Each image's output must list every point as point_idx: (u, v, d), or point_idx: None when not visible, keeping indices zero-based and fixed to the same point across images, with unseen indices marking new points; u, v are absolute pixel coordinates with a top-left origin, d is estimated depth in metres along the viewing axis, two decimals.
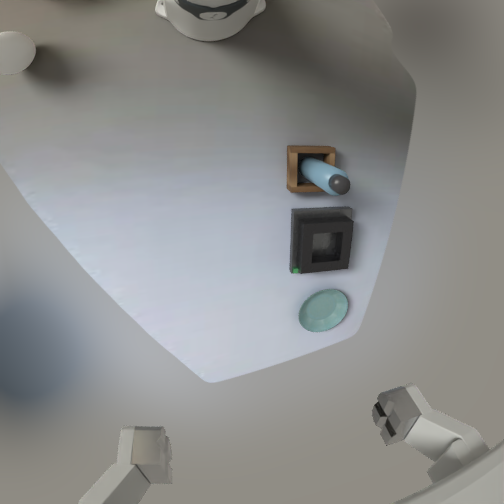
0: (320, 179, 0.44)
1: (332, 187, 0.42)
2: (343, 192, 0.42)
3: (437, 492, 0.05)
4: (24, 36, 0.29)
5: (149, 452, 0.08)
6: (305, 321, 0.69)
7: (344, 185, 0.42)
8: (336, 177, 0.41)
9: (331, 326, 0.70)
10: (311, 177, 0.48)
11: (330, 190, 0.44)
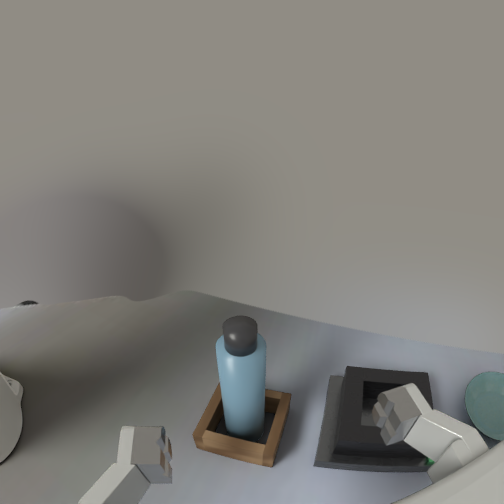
0: (232, 373, 0.23)
1: (240, 343, 0.22)
2: (252, 326, 0.23)
3: (437, 492, 0.05)
4: None
5: (149, 452, 0.08)
6: None
7: (241, 323, 0.23)
8: (223, 334, 0.23)
9: None
10: (240, 405, 0.24)
11: (252, 355, 0.23)
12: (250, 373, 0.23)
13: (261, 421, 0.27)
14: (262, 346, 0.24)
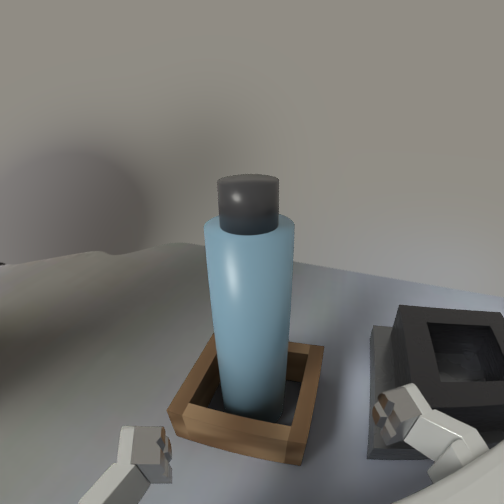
0: (233, 271, 0.13)
1: (248, 201, 0.12)
2: (271, 180, 0.13)
3: (437, 492, 0.05)
4: None
5: (149, 452, 0.08)
6: None
7: (249, 178, 0.13)
8: (218, 194, 0.13)
9: None
10: (248, 349, 0.14)
11: (270, 233, 0.13)
12: (267, 270, 0.13)
13: (281, 387, 0.17)
14: (287, 225, 0.14)
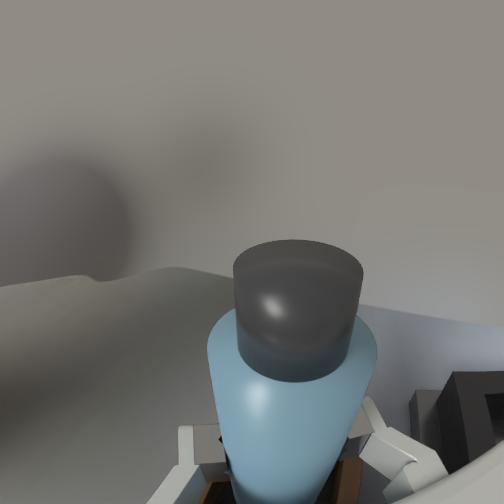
0: (266, 439, 0.06)
1: (307, 329, 0.05)
2: (345, 265, 0.06)
3: (437, 491, 0.05)
4: None
5: (213, 450, 0.08)
6: None
7: (300, 257, 0.06)
8: (236, 299, 0.06)
9: None
10: (280, 497, 0.08)
11: (341, 375, 0.06)
12: (329, 433, 0.06)
13: (314, 502, 0.10)
14: (363, 340, 0.07)
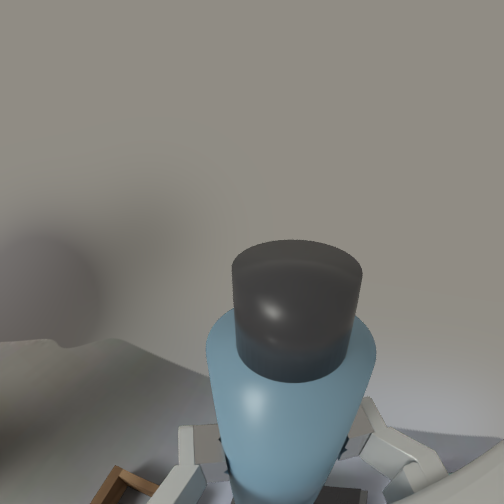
0: (265, 439, 0.06)
1: (306, 330, 0.05)
2: (344, 265, 0.06)
3: (437, 491, 0.05)
4: None
5: (212, 450, 0.08)
6: None
7: (298, 257, 0.06)
8: (235, 299, 0.06)
9: None
10: (279, 497, 0.08)
11: (340, 375, 0.06)
12: (328, 434, 0.06)
13: (313, 502, 0.10)
14: (362, 340, 0.07)
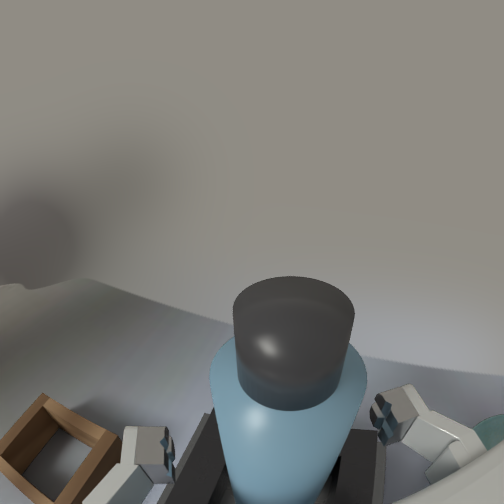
0: (264, 459, 0.06)
1: (300, 369, 0.06)
2: (338, 306, 0.06)
3: (437, 492, 0.05)
4: None
5: (153, 452, 0.08)
6: None
7: (295, 297, 0.07)
8: (236, 338, 0.06)
9: None
10: None
11: (332, 404, 0.06)
12: (321, 453, 0.06)
13: None
14: (354, 369, 0.07)
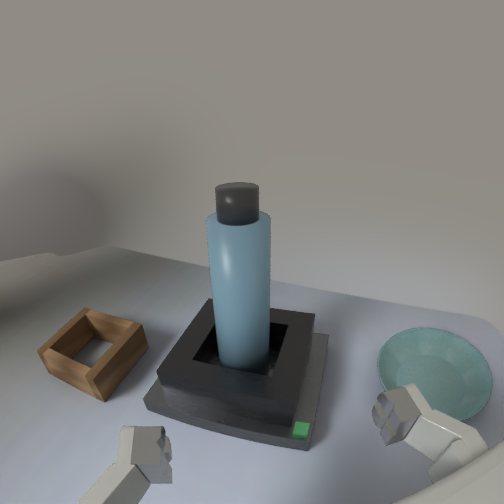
0: (226, 251, 0.18)
1: (236, 202, 0.17)
2: (253, 186, 0.18)
3: (437, 491, 0.05)
4: None
5: (149, 452, 0.08)
6: (469, 409, 0.18)
7: (238, 185, 0.19)
8: (216, 197, 0.18)
9: (474, 351, 0.23)
10: (238, 311, 0.20)
11: (252, 224, 0.18)
12: (250, 250, 0.18)
13: (265, 348, 0.22)
14: (265, 218, 0.19)
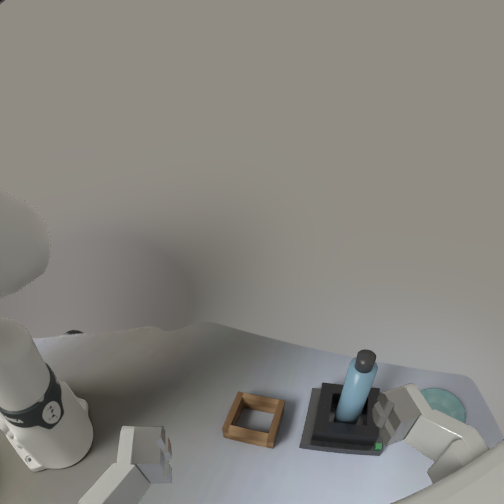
0: (360, 383, 0.37)
1: (368, 366, 0.36)
2: (373, 355, 0.37)
3: (437, 492, 0.05)
4: None
5: (149, 452, 0.08)
6: None
7: (366, 354, 0.37)
8: (358, 361, 0.37)
9: (457, 401, 0.42)
10: (357, 402, 0.38)
11: (372, 371, 0.37)
12: (370, 382, 0.37)
13: (361, 411, 0.41)
14: (375, 365, 0.38)
